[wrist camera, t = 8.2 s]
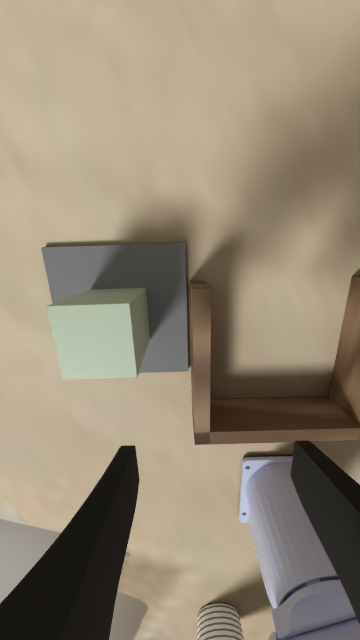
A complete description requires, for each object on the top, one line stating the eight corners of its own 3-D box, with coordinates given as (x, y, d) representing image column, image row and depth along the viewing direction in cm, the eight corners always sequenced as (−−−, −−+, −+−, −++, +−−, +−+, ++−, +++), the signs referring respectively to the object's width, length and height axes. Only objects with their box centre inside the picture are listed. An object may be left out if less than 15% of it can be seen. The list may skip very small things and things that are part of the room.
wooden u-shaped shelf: (338, 406, 21) (374, 439, 17) (192, 410, 21) (194, 444, 17) (366, 275, 17) (419, 281, 14) (189, 281, 18) (192, 289, 14)
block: (150, 339, 19) (136, 377, 13) (98, 341, 19) (61, 379, 13) (145, 287, 17) (129, 303, 12) (90, 289, 17) (46, 306, 12)
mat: (188, 368, 20) (188, 371, 19) (69, 372, 20) (67, 374, 20) (185, 242, 17) (185, 242, 16) (44, 247, 17) (41, 247, 16)
